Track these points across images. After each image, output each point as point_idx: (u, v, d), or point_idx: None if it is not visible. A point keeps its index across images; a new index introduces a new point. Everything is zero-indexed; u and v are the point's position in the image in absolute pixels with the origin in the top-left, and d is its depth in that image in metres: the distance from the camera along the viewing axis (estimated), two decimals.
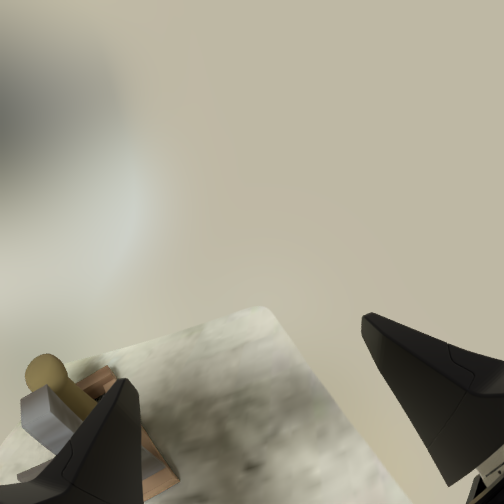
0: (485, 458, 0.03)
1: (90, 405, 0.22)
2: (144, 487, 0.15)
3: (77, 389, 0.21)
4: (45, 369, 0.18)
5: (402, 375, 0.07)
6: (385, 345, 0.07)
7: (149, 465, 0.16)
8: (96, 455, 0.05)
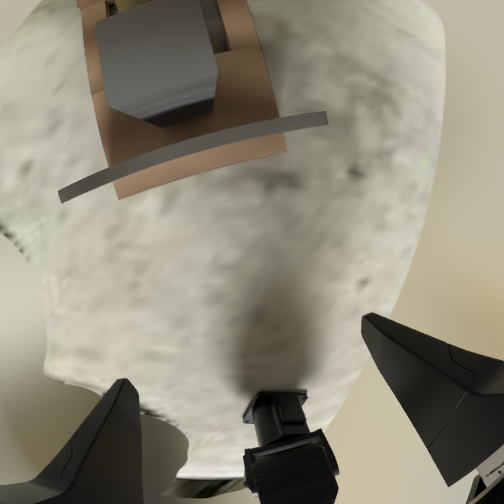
0: (485, 458, 0.03)
1: None
2: (241, 151, 0.17)
3: None
4: None
5: (402, 375, 0.07)
6: (385, 345, 0.07)
7: None
8: (97, 455, 0.05)
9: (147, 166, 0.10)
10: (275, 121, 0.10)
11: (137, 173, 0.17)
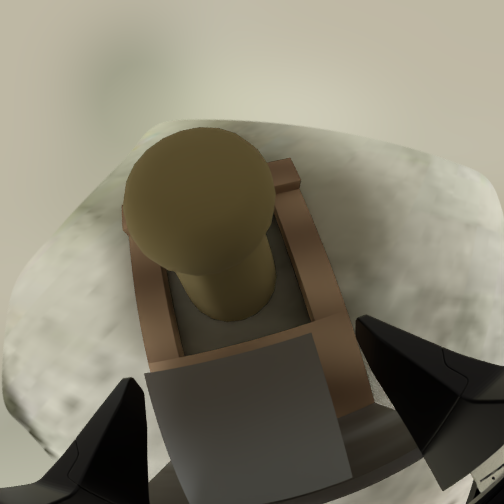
0: (479, 464, 0.03)
1: (268, 260, 0.14)
2: None
3: None
4: (233, 198, 0.07)
5: (395, 378, 0.07)
6: (378, 348, 0.07)
7: None
8: (103, 455, 0.05)
9: None
10: (395, 462, 0.06)
11: None
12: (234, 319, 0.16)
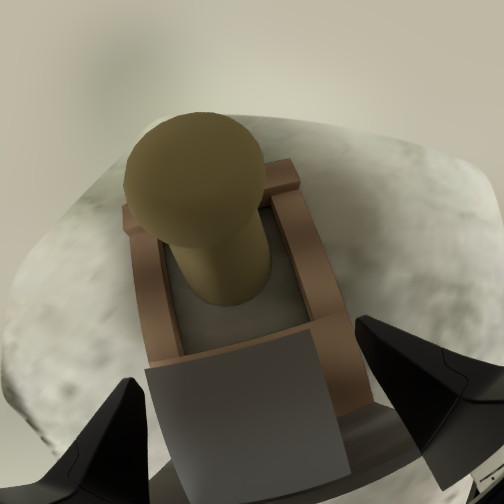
0: (478, 464, 0.03)
1: (263, 242, 0.14)
2: None
3: (256, 210, 0.12)
4: (225, 171, 0.08)
5: (395, 379, 0.07)
6: (378, 348, 0.07)
7: None
8: (103, 455, 0.05)
9: None
10: (395, 460, 0.06)
11: None
12: (230, 303, 0.17)
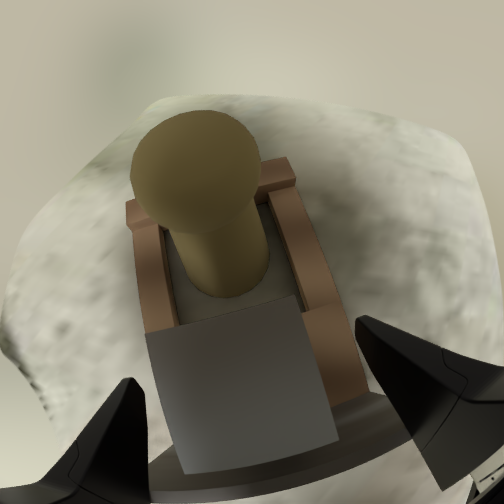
0: (478, 464, 0.03)
1: (260, 233, 0.15)
2: None
3: (253, 201, 0.13)
4: (223, 160, 0.08)
5: (395, 379, 0.07)
6: (378, 348, 0.07)
7: None
8: (104, 455, 0.05)
9: (232, 498, 0.06)
10: (387, 440, 0.06)
11: None
12: (230, 294, 0.17)
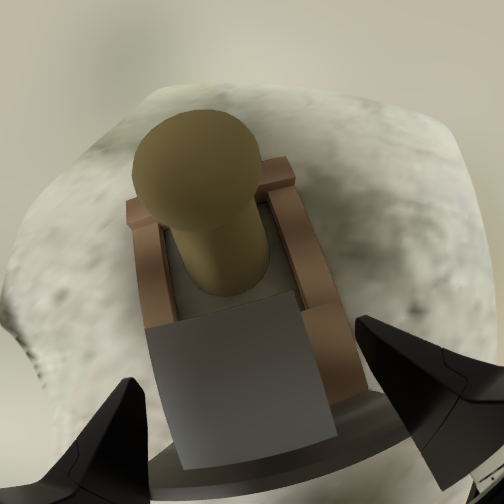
0: (478, 464, 0.03)
1: (260, 231, 0.15)
2: None
3: (253, 199, 0.13)
4: (225, 158, 0.09)
5: (395, 379, 0.07)
6: (378, 348, 0.07)
7: None
8: (103, 455, 0.05)
9: (232, 495, 0.06)
10: (386, 437, 0.06)
11: None
12: (231, 293, 0.17)
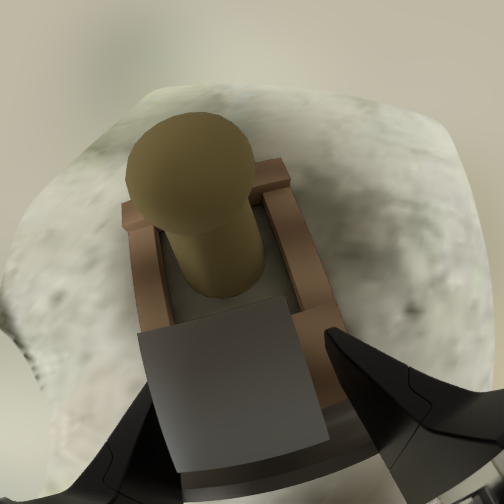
0: (442, 491, 0.03)
1: (255, 233, 0.15)
2: None
3: (248, 201, 0.13)
4: (218, 161, 0.09)
5: (360, 395, 0.07)
6: (343, 363, 0.07)
7: None
8: (139, 456, 0.05)
9: (227, 497, 0.06)
10: None
11: None
12: (227, 295, 0.17)
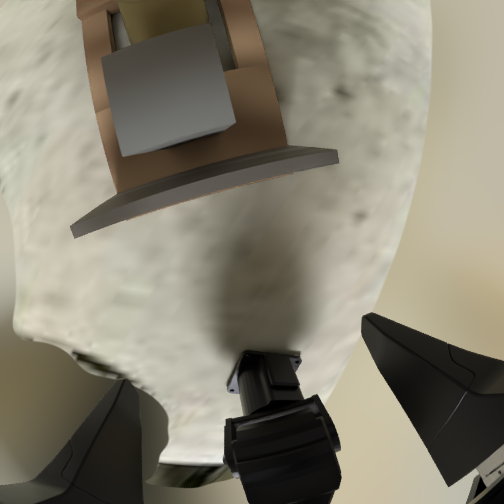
0: (485, 458, 0.03)
1: (201, 5, 0.11)
2: None
3: None
4: None
5: (402, 375, 0.07)
6: (385, 345, 0.07)
7: None
8: (97, 455, 0.05)
9: (161, 206, 0.10)
10: (288, 161, 0.10)
11: None
12: None
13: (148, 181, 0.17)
